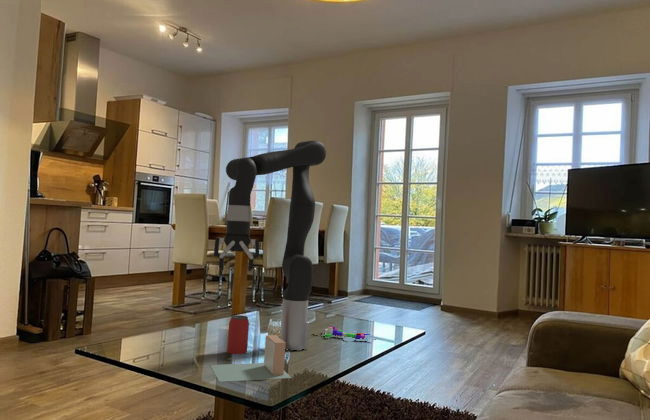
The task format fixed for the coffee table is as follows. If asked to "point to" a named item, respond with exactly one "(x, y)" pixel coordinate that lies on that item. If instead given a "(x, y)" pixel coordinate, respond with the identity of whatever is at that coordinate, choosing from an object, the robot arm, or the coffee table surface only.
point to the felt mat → (244, 372)
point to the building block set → (343, 333)
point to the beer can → (238, 335)
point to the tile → (274, 354)
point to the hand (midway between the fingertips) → (235, 270)
